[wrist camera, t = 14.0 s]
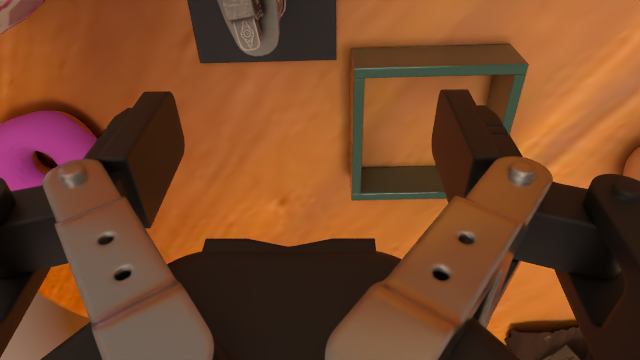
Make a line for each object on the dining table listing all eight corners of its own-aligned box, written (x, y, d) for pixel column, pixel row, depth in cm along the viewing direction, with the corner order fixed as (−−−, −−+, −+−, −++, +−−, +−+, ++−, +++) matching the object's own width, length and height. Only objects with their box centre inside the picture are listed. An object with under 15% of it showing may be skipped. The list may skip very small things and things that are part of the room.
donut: (76, 89, 38) (50, 115, 34) (143, 179, 43) (126, 210, 40) (-20, 123, 40) (-55, 151, 36) (56, 204, 45) (33, 236, 42)
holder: (351, 48, 35) (354, 68, 32) (510, 43, 35) (529, 63, 32) (349, 174, 43) (351, 200, 40) (479, 171, 43) (492, 198, 39)
